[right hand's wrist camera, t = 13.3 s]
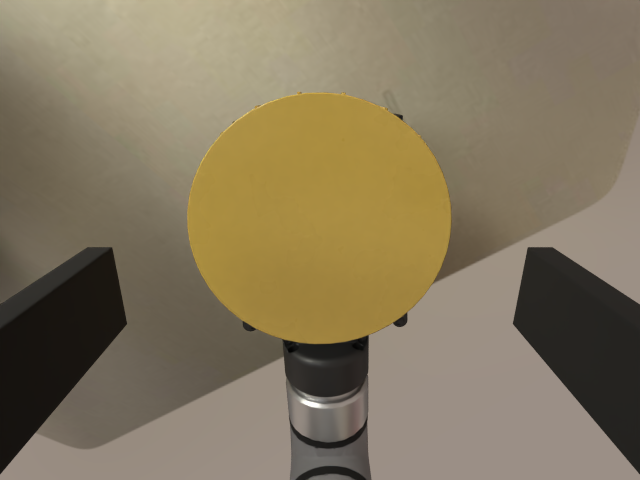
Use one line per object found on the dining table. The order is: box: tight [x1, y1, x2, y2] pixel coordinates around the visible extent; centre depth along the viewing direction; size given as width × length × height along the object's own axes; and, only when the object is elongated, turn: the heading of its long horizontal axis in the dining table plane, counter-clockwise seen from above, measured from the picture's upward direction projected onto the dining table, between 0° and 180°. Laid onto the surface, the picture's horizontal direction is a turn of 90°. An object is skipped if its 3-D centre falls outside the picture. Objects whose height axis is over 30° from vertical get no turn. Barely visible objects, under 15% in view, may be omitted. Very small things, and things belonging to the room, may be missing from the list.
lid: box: [187, 92, 452, 344], centre depth 18 cm, size 12×12×2 cm
